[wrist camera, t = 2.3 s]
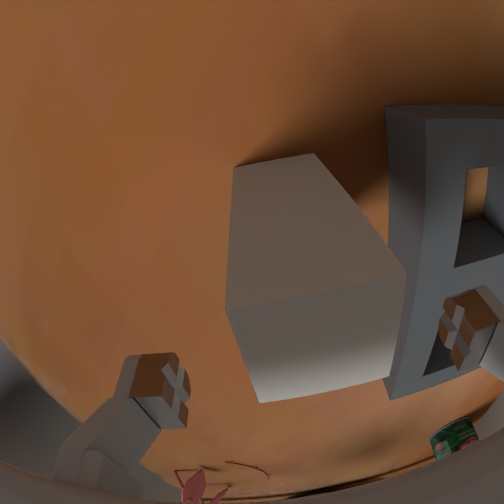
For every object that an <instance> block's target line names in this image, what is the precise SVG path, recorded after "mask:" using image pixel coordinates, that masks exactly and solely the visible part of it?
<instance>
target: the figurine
mask: <svg viewBox="0 0 504 504" xmlns="http://www.w3.org/2000/svg"><path fill="white" fill-rule="evenodd" d="M225 462H226V461H225ZM227 463H233V462H227ZM233 464H238V463H233ZM239 465H243V464H239ZM244 466H248V465H244ZM248 467H251V465H250V466H248ZM255 467H256V466H254V467H252V468H255ZM257 468H258V467H257ZM257 468H255V469H257ZM258 470H260V469H258ZM260 471H262V470H260ZM262 472H264V471H262ZM173 473H174V475H175V477H176V479H177V481H178V483H179V485H180V487H181V489H182V502H183V503H196V502H197V501H198V500H200V502H201V503H204V502H203V500H202V498H201V497H202V495H207V494H203V493H204V491H205V486H206V481H205V475H204V472H203V470H200V471H199V472H197V473H196V474H195V475H193V476H192V477H191V478H190V479H189V480H188V481H187V482H186V484H185V485H183V483H182V481H181V480H180V477H179V475H178V473H177V471H173ZM264 473H265V472H264ZM266 475H267V474H266ZM267 476H268V475H267ZM267 481H268V480H267ZM267 481H266V482H267ZM266 482H265V483H266ZM265 483H264V484H265ZM227 490H228V489H227V488H226V489H225V490H223V491H222V492H220V493H219V494H218V495H217V496H216V497H214V499H213V500H212V501H211V502H210V503H219V501H220V500H221V499H222V498H223V496H224V495H225V493H226V492H227Z"/></svg>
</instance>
